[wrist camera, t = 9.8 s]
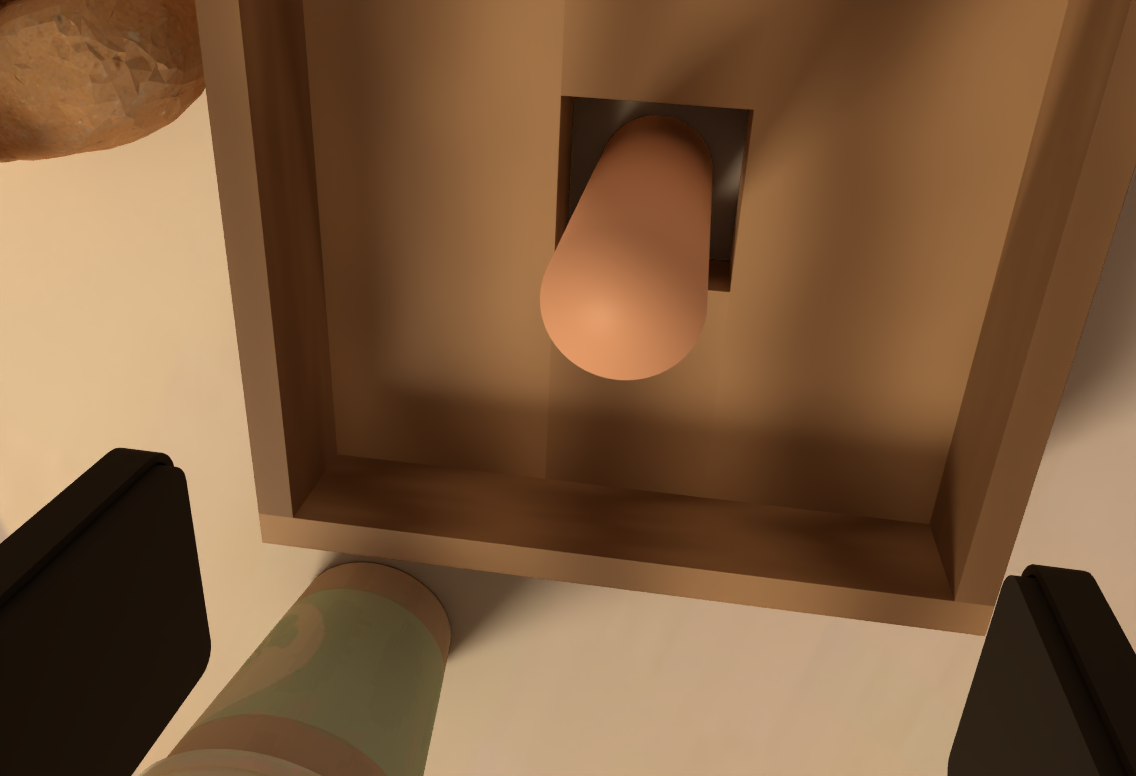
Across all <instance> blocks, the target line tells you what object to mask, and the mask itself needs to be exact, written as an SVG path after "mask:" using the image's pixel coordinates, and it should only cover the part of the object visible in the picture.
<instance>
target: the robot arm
mask: <svg viewBox="0 0 1136 776" xmlns="http://www.w3.org/2000/svg"><path fill="white" fill-rule="evenodd" d="M210 652H211V640H210V633H209V627H208V620H207V613H206V607H205V600H204V594H203V587H202V581H201V574H200V567H199V561H198V554H197V548H196V541H195V534H194V528H193V521H192V515H191V508H190V501H189V495H188V488H187V482H186V477H185V474H184V472H183V471H182V469H180V468H178V467H174V464H173V462H172V460H171V459H170V457H169V456H168V455H166V454H164V453H158V452H151V451H143V450H135V449H127V448H115V449H113V450H112V451H110V452H108V453H107V454H106V455H105V456H104V457H102V458H101V459H100V460H99V461H98V462H96V463H95V464H94V465H93V466H92V467H91V468H89V469H88V470H87V471H86V472H85V473H83V474H82V475H81V476H80V477H79V478H78V479H76V480H75V481H74V482H73V483H72V484H70V485H69V486H68V487H67V488H66V489H65V490H63V491H62V492H61V493H60V494H59V495H57V496H56V497H55V498H54V499H53V500H52V501H50V502H49V503H48V504H47V505H46V506H44V507H43V508H42V509H41V510H40V511H39V512H37V513H36V514H35V515H34V516H33V517H31V518H30V519H29V520H28V521H27V522H26V523H24V524H23V525H22V526H21V527H20V528H18V529H17V530H16V531H15V532H14V533H12V534H11V535H10V536H9V537H8V538H7V539H5V540H4V541H3V542H2V543H1V544H0V776H131V775H132V774H133V773H134V771H135V770H136V768H137V767H138V766H139V764H140V763H141V761H142V760H143V759H144V757H145V756H146V754H147V753H148V751H149V750H150V749H151V747H152V746H153V744H154V743H155V742H156V740H157V739H158V737H159V736H160V735H161V733H162V732H163V730H164V729H165V727H166V726H167V725H168V723H169V722H170V720H171V719H172V718H173V716H174V715H175V713H176V712H177V711H178V709H179V708H180V706H181V705H182V703H183V702H184V701H185V699H186V698H187V696H188V695H189V694H190V692H191V691H192V689H193V688H194V686H195V685H196V684H197V682H198V681H199V679H200V678H201V677H202V675H203V673H204V672H205V670H206V667H207V665H208V662H209V658H210ZM948 776H1136V654H1135V652H1134V650H1133V648H1132V647H1131V645H1130V643H1129V641H1128V639H1127V637H1126V636H1125V634H1124V632H1123V630H1122V628H1121V626H1120V625H1119V623H1118V621H1117V619H1116V617H1115V615H1114V614H1113V612H1112V610H1111V608H1110V606H1109V604H1108V603H1107V601H1106V599H1105V597H1104V595H1103V593H1102V592H1101V590H1100V588H1099V586H1098V584H1097V582H1096V581H1095V579H1094V578H1093V576H1092V575H1091V574H1090V573H1088V572H1086V571H1081V570H1073V569H1065V568H1058V567H1050V566H1042V565H1034V564H1032V565H1029V566H1027V567H1026V569H1025V570H1024V571H1023V573H1022V576H1013V575H1010V576H1008V577H1007V578H1006V579H1005V580H1004V583H1003V585H1002V588H1001V591H1000V594H999V598H998V601H997V604H996V607H995V611H994V614H993V617H992V620H991V623H990V627H989V630H988V633H987V636H986V639H985V643H984V646H983V649H982V652H981V656H980V659H979V662H978V665H977V669H976V672H975V675H974V678H973V681H972V685H971V688H970V691H969V694H968V698H967V701H966V704H965V707H964V710H963V714H962V717H961V720H960V723H959V727H958V730H957V733H956V736H955V739H954V743H953V746H952V749H951V752H950V756H949V761H948Z"/></svg>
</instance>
